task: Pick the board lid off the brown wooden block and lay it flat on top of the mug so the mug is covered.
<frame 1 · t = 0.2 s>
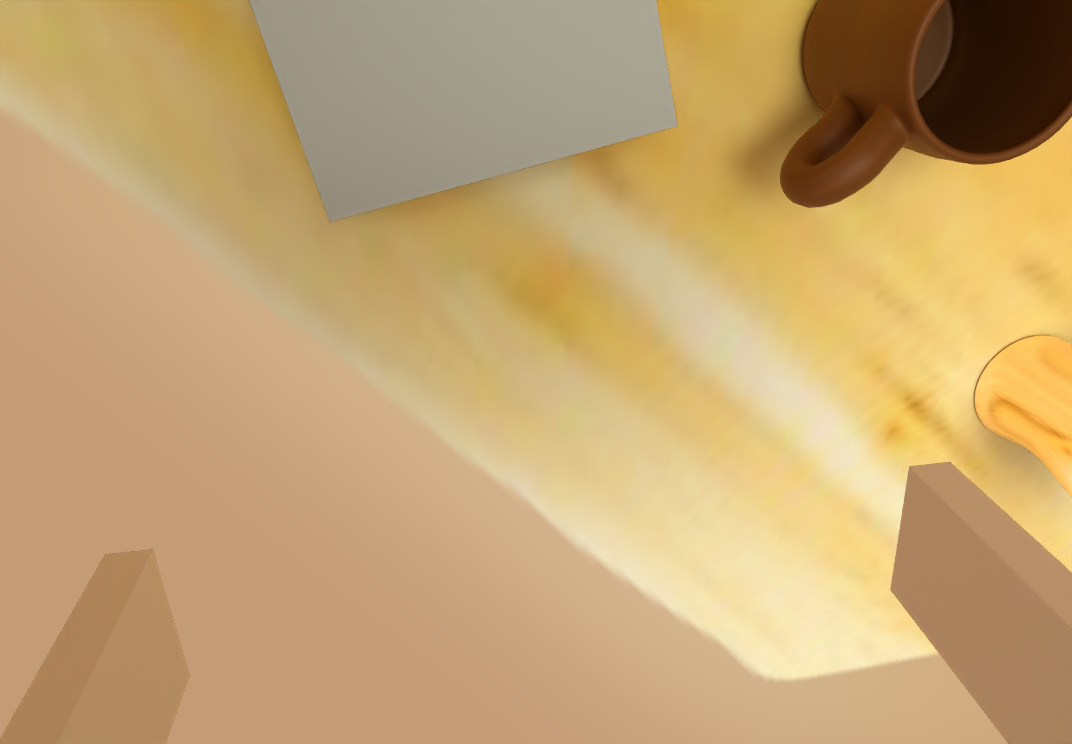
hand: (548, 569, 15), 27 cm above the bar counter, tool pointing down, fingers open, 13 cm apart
beer glass: (1024, 384, 47), on the bar counter
mug: (835, 76, 39), on the bar counter
lid: (459, 11, 30), point 6 cm above the bar counter, touching brown wooden block
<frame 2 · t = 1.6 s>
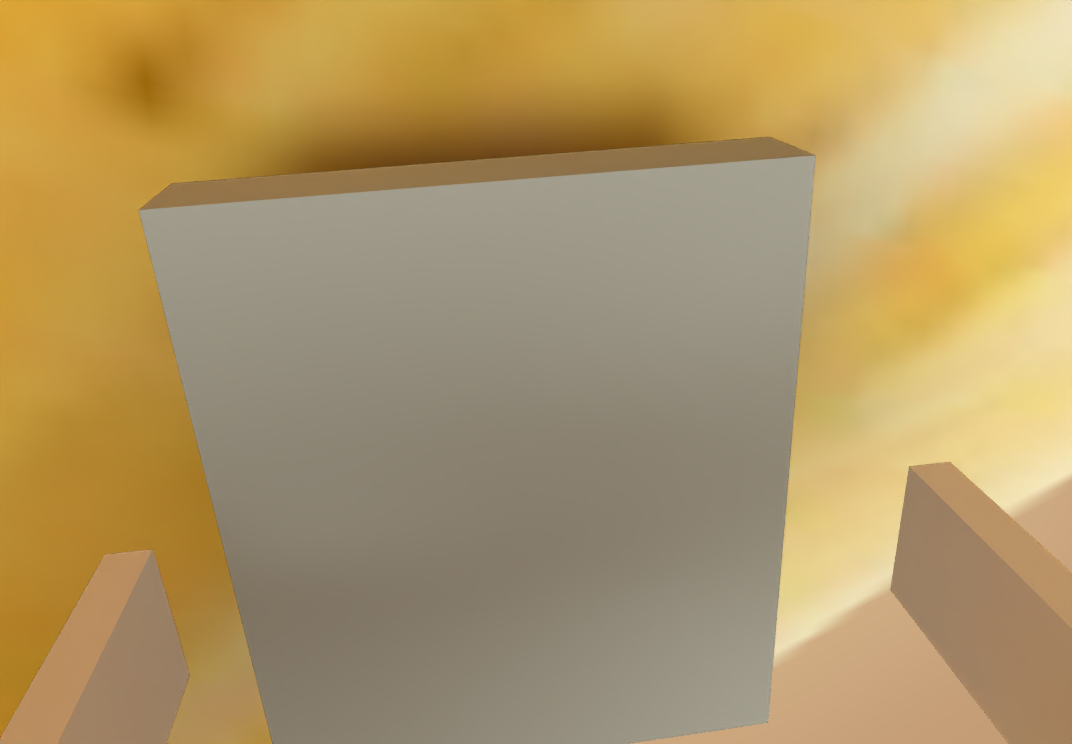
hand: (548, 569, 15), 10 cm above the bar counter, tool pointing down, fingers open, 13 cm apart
lid: (505, 464, 18), point 6 cm above the bar counter, touching brown wooden block
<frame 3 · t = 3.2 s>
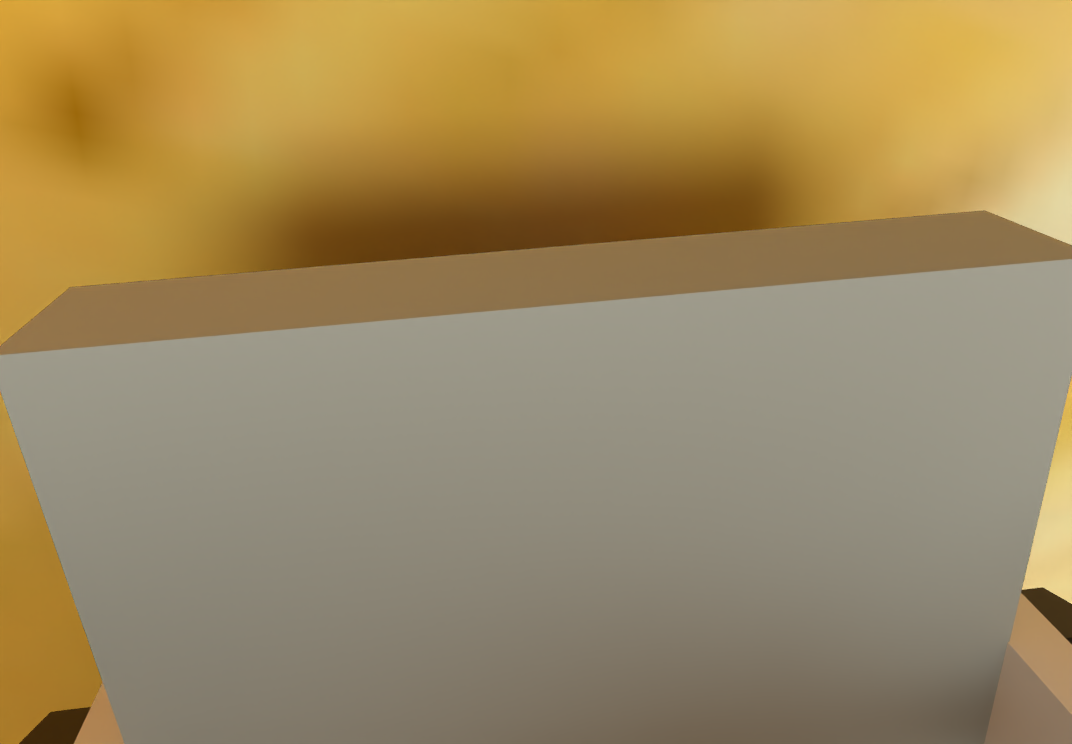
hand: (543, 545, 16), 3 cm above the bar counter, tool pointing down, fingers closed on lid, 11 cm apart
lid: (567, 662, 13), point 6 cm above the bar counter, touching gripper, brown wooden block
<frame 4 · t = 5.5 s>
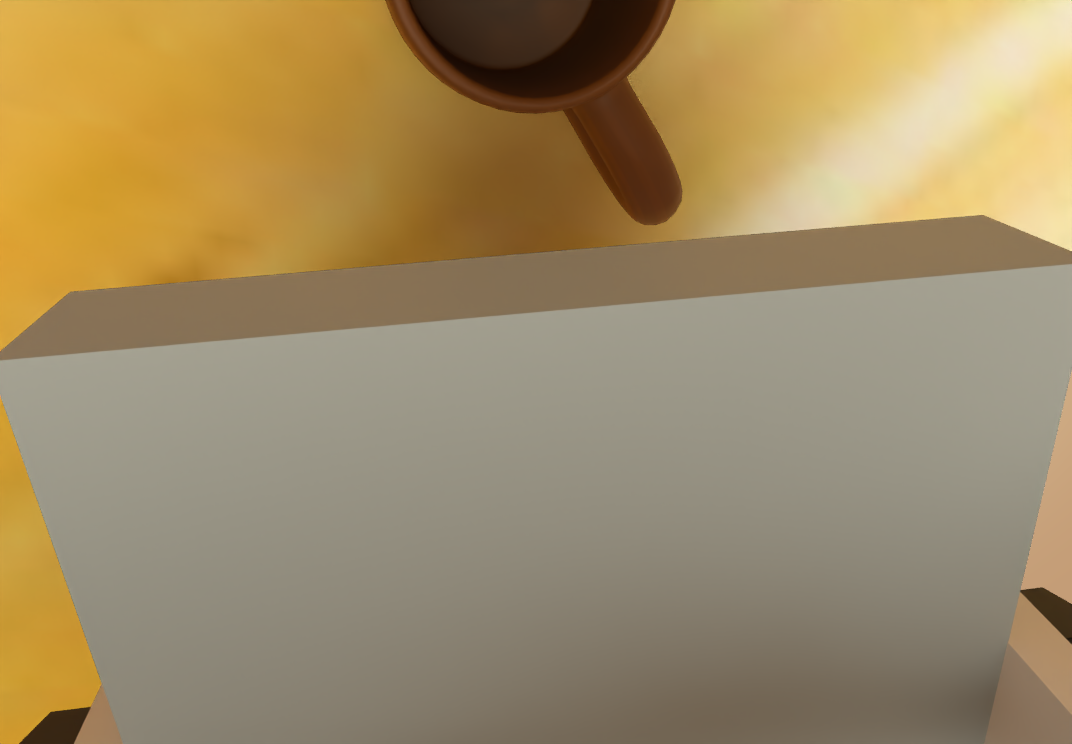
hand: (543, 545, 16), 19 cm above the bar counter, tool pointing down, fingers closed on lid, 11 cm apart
mug: (532, 25, 30), on the bar counter
lid: (567, 665, 13), point 22 cm above the bar counter, touching gripper
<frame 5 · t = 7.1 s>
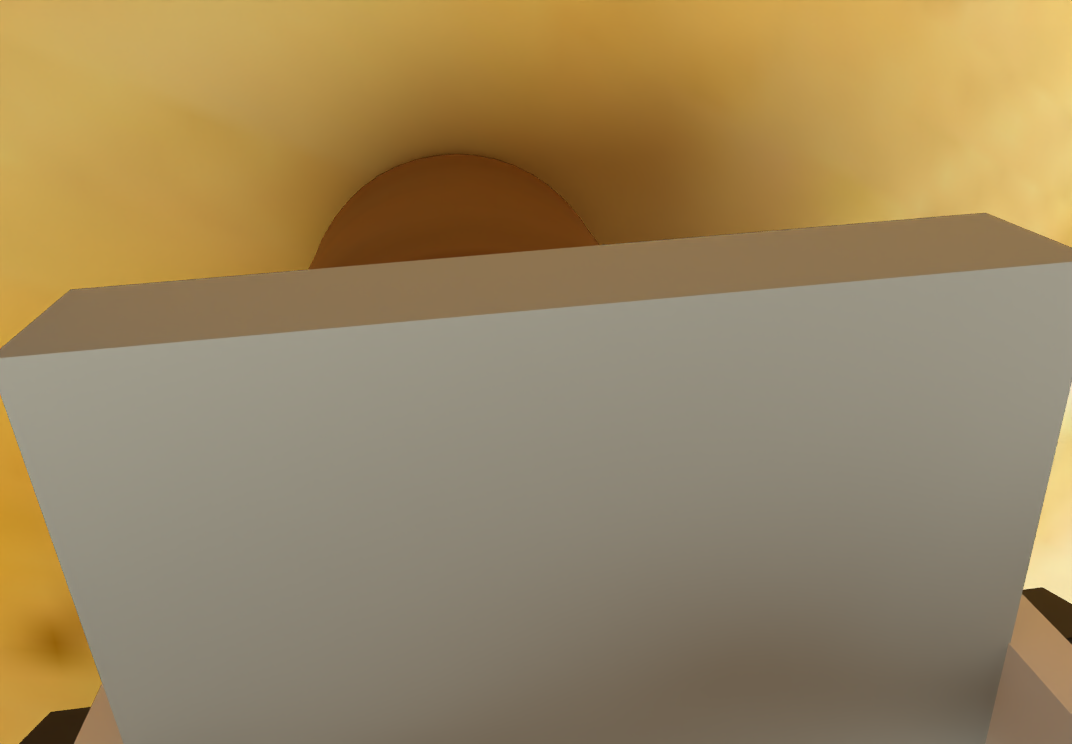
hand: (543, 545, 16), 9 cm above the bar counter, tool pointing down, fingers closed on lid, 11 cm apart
mug: (497, 350, 24), on the bar counter
lid: (568, 664, 13), point 12 cm above the bar counter, touching gripper
when the fingers open (7 cm above the bar counter, at t = 8.3 s): lid drops 1 cm, resting on mug.
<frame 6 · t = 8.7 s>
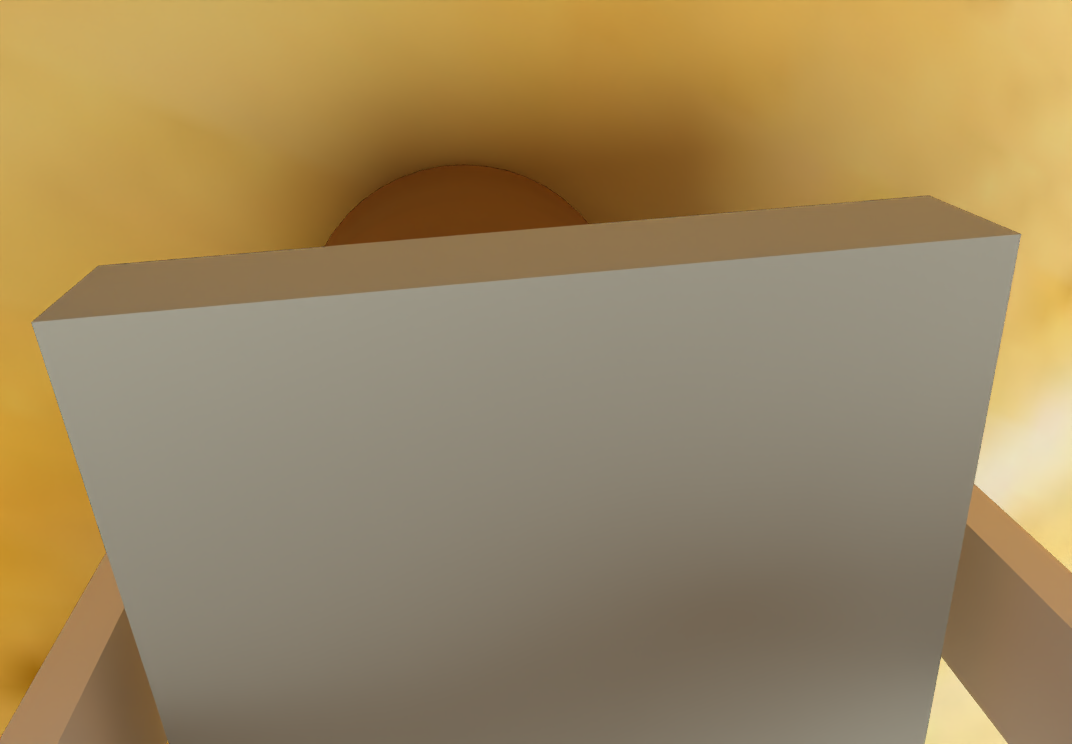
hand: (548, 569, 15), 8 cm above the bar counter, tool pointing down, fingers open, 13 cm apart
mug: (507, 372, 23), on the bar counter, touching lid
lid: (553, 617, 14), point 9 cm above the bar counter, touching mug
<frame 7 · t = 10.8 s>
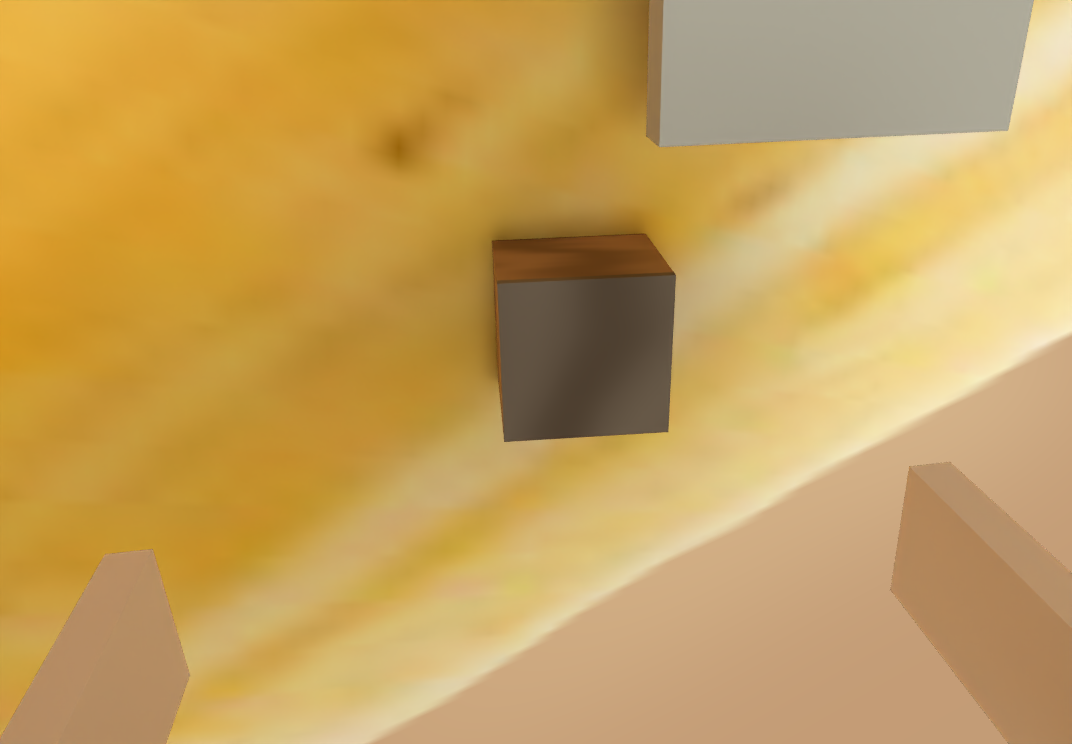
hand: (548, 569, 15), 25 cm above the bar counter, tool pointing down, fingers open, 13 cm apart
brown wooden block: (569, 309, 40), on the bar counter
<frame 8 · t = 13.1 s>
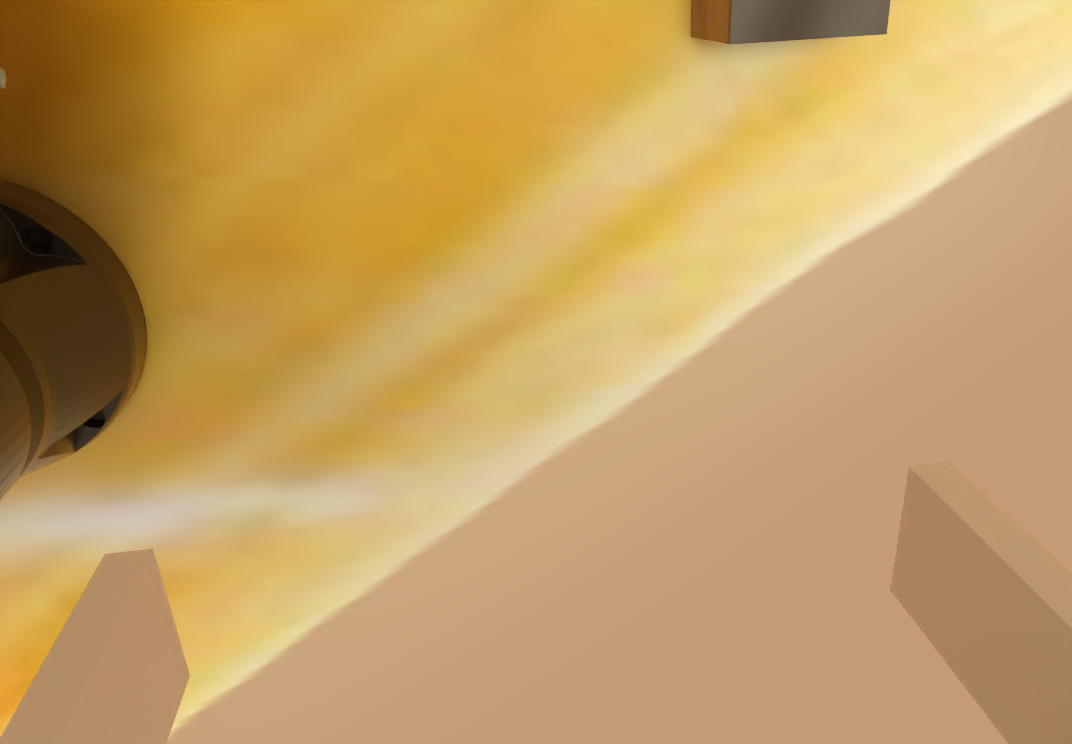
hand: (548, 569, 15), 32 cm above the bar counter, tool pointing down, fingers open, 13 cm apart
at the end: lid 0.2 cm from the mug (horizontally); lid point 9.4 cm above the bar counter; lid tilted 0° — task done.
